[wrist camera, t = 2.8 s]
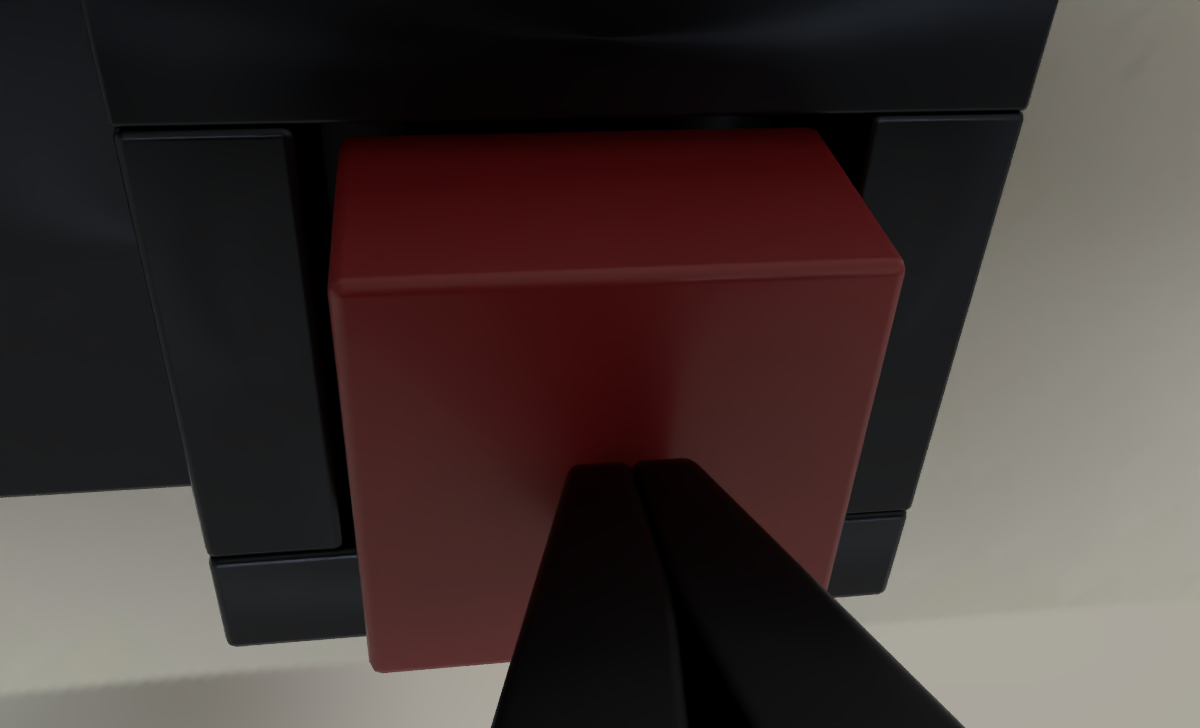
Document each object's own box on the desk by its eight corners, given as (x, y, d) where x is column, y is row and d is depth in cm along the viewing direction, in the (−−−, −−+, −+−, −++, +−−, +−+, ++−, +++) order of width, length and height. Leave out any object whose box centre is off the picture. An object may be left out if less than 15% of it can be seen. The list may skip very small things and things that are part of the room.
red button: (816, 122, 9) (913, 263, 7) (756, 470, 11) (819, 640, 9) (338, 131, 8) (326, 286, 7) (373, 495, 10) (369, 680, 9)
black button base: (878, -184, 11) (1076, -51, 8) (781, 361, 15) (886, 597, 12) (-728, -218, 9) (-1328, -59, 6) (-355, 419, 13) (-594, 719, 10)
